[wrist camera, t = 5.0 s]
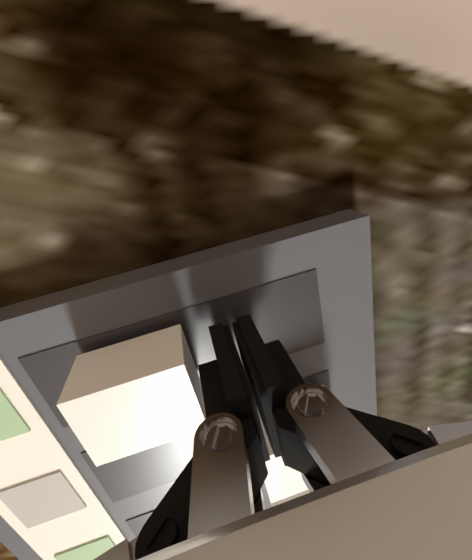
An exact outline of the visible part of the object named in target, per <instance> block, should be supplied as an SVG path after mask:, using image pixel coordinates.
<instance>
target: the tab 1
mask: <svg viewBox="0 0 472 560" xmlns="http://www.w3.org/2000/svg"><path fill="white" fill-rule="evenodd" d="M56 406H57V407H58V409H59V410H60V412H61V413H62V415H63V416H64V418H65V419H66V421H67V423H68V424H69V426H70V427H71V429H72V430H73V432H74V433H75V435H76V436H77V438H78V439H79V441H80V443H81V444H82V446H83V447H84V449H85V450H86V452H87V453H88V455H89V456H90V458H91V459H92V461H93V463H94V464H95V466H96V467H98V466H100V465H103V464H106V463H109V462H112V461H115V460H118V459H121V458H124V457H127V456H130V455H133V454H136V453H138V452H141V451H144V450H147V449H150V448H153V447H156V446H159V445H162V444H165V443H168V442H171V441H173V440H176V439H179V438H182V437H185V436H188V435H191V434H194V433H195V432H196V430H197V428H198V426H199V425H200V424H201V423H202V422H203V421H204V420H205V419H206V413H205V406H204V400H203V394H202V388H201V381H200V378H199V375H198V372H197V369H196V366H195V364H194V361H193V358H192V355H191V352H190V350H189V347H188V344H187V341H186V338H185V336H184V333H183V330H182V327H181V324H179V325H175V326H172V327H169V328H166V329H162V330H159V331H156V332H152V333H149V334H146V335H143V336H139V337H136V338H133V339H130V340H126V341H123V342H120V343H116V344H113V345H110V346H107V347H103V348H100V349H97V350H94V351H90V352H87V353H84V354H80V355H77V356H76V359H75V361H74V364H73V366H72V368H71V371H70V373H69V376H68V378H67V380H66V383H65V385H64V388H63V390H62V392H61V395H60V397H59V400H58V402H57V404H56Z"/></svg>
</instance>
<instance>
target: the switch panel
mask: <svg viewBox="0 0 472 560" xmlns="http://www.w3.org/2000/svg"><path fill="white" fill-rule="evenodd" d="M247 314H250V316H251V318H252V320H253V322H254V324H255V326H256V328H257V330H258V332H259V334H260V336H261V338H262V340H263V341H264V343H265V344H266V343H269V342H272V341H275V340H279V341H280V342H281V344H282V345H283V347H284V349H285V350H286V352H287V353H288V355H289V357H290V358H291V360H292V362H293V363H294V365H295V367H296V368H297V370H298V372H299V373H300V375H301V377H302V378H303V380H304V382H305V383H306V384H308V383H313V384H319V385H324V387H326V388H327V389H328V390H329V391H331V392H332V393H333V395H334V396H335V397H336V398H337V399H338V400H339V401H340V402H341V403H342V404H343V405H344V406H345V407H348V408H351V409H355V410H358V411H362V412H365V413H368V414H372V415H375V416H377V404H376V377H375V350H374V323H373V295H372V268H371V241H370V215H367V214H364V213H361V212H358V211H355V210H352V209H346V210H343V211H339V212H336V213H332V214H329V215H325V216H322V217H318V218H315V219H311V220H308V221H304V222H301V223H297V224H294V225H290V226H286V227H283V228H279V229H276V230H272V231H269V232H265V233H262V234H258V235H255V236H251V237H248V238H244V239H241V240H237V241H234V242H230V243H227V244H223V245H220V246H216V247H212V248H209V249H205V250H202V251H198V252H195V253H191V254H188V255H184V256H181V257H177V258H174V259H170V260H167V261H163V262H160V263H156V264H153V265H149V266H145V267H142V268H138V269H135V270H131V271H128V272H124V273H121V274H117V275H114V276H110V277H107V278H103V279H100V280H96V281H93V282H89V283H86V284H82V285H79V286H75V287H71V288H68V289H64V290H61V291H57V292H54V293H50V294H47V295H43V296H40V297H36V298H33V299H29V300H26V301H22V302H19V303H15V304H12V305H8V306H4V307H1V308H0V542H1V543H2V544H3V545H4V546H5V547H6V548H8V549H9V550H10V551H11V552H12V553H13V554H14V555H15V556H16V557H17V558H18V559H19V560H94V559H95V558H97V557H98V556H100V555H101V554H103V553H105V552H106V551H108V550H109V549H111V548H112V547H114V546H116V545H117V544H119V543H120V542H122V541H123V540H125V539H126V538H127V539H128V540H129V542H130V541H131V540H133V539H134V538H136V537H137V536H138V535H139V533H140V531H141V529H142V527H143V526H144V524H145V523H146V521H147V520H148V518H149V517H150V516H151V514H152V513H153V511H154V510H155V509H156V507H157V506H158V504H159V503H160V502H161V500H162V499H163V497H164V496H165V495H166V493H167V492H168V490H169V489H170V488H171V486H172V485H173V483H174V482H175V481H176V479H177V478H178V476H179V475H180V474H181V472H182V471H183V469H184V468H185V467H186V465H187V464H188V462H189V461H190V460H191V458H192V457H193V444H194V436H195V433H194V434H191V435H188V436H185V437H182V438H179V439H176V440H173V441H171V442H168V443H165V444H162V445H159V446H156V447H153V448H150V449H147V450H144V451H141V452H138V453H136V454H133V455H130V456H127V457H124V458H121V459H118V460H115V461H112V462H109V463H106V464H103V465H100V466H98V467H96V466H95V464H94V463H93V461H92V459H91V458H90V456H89V455H88V453H87V452H86V450H85V449H84V447H83V446H82V444H81V443H80V441H79V439H78V438H77V436H76V435H75V433H74V432H73V430H72V429H71V427H70V426H69V424H68V423H67V421H66V419H65V418H64V416H63V415H62V413H61V412H60V410H59V409H58V407H57V406H56V404H57V402H58V400H59V397H60V395H61V392H62V390H63V388H64V385H65V383H66V380H67V378H68V376H69V373H70V371H71V368H72V366H73V364H74V361H75V359H76V356H77V355H80V354H84V353H87V352H90V351H94V350H97V349H100V348H103V347H107V346H110V345H113V344H116V343H120V342H123V341H126V340H130V339H133V338H136V337H139V336H143V335H146V334H149V333H152V332H156V331H159V330H162V329H166V328H169V327H172V326H175V325H179V324H181V327H182V330H183V333H184V336H185V338H186V341H187V344H188V347H189V350H190V352H191V355H192V358H193V361H194V364H195V366H196V369H197V372H198V375H199V369H198V365H200V364H204V363H207V362H210V361H213V360H216V356H215V352H214V348H213V344H212V340H211V336H210V332H209V328H208V327H209V326H212V325H215V324H218V323H222V326H224V325H227V324H228V326H229V329H230V332H231V335H232V337H233V340H234V343H235V346H236V348H237V351H238V354H239V357H240V359H241V356H240V352H239V348H238V345H237V341H236V337H235V333H234V330H233V326H232V323H234V322H237V321H236V318H238V317H241V316H244V315H247ZM241 362H242V359H241ZM242 365H243V363H242ZM199 378H200V375H199ZM256 407H257V406H256ZM261 490H262V493H263V499H264V506H265V509H268V508H271V507H272V506H271V503H270V499H269V496H268V493H267V489H266V486H265V482H264V484H263V486H262V488H261Z"/></svg>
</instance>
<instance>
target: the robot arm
mask: <svg viewBox="0 0 472 560" xmlns="http://www.w3.org/2000/svg"><path fill="white" fill-rule="evenodd" d="M236 321H237V322H234V323H232V326H233V330H234V333H235V337H236V341H237V345H238V348H239V352H240V356H241V359H242V362H241V359H240V357H239V354H238V351H237V348H236V346H235V343H234V340H233V337H232V335H231V332H230V329H229V326H228V324H227V325H224V326H222V323H218V324H215V325H212V326H209V327H208V328H209V332H210V336H211V340H212V344H213V348H214V352H215V356H216V360H213V361H210V362H207V363H204V364H200V365H198V369H199V375H200V381H201V388H202V394H203V400H204V406H205V413H206V419H205V420H204V421H203V422H202V423H201V424H200V425H199V426H198V428H197V430H196V432H195V436H194V444H193V457H192V458H191V460H190V461H189V462H188V464H187V465H186V467H185V468H184V469H183V471H182V472H181V474H180V475H179V476H178V478H177V479H176V481H175V482H174V483H173V485H172V486H171V488H170V489H169V490H168V492H167V493H166V495H165V496H164V497H163V499H162V500H161V502H160V503H159V504H158V506H157V507H156V509H155V510H154V511H153V513H152V514H151V516H150V517H149V518H148V520H147V521H146V523H145V524H144V526H143V527H142V529H141V531H140V533H139V535H138V536H137V537H136V538H134V539H133V540H131V541H130V542H129V540H128V539H127V538H126V539H125V540H123V541H122V542H120V543H119V544H117V545H116V546H114V547H112V548H111V549H109V550H108V551H106V552H105V553H103V554H101V555H100V556H98V557H97V558H95V559H94V560H472V421H468V422H460V423H452V424H443V425H435V426H428V430H427V431H421V430H419V429H417V428H414V427H412V426H409V425H406V424H402V423H399V422H396V421H392V420H389V419H385V418H382V417H379V416H375V415H372V414H368V413H365V412H362V411H358V410H355V409H351V408H348V407H345V406H344V405H343V404H342V403H341V402H340V401H339V400H338V399H337V398H336V397H335V396H334V395H333V393H332V392H331V391H329V390H328V389H327V388H326V387H324V386H321V385H319V384H313V383H308V384H306V383H305V382H304V380H303V378H302V377H301V375H300V373H299V372H298V370H297V368H296V367H295V365H294V363H293V362H292V360H291V358H290V357H289V355H288V353H287V352H286V350H285V349H284V347H283V345H282V344H281V342H280V341H279V340H275V341H272V342H269V343H266V344H265V343H264V341H263V340H262V338H261V336H260V334H259V332H258V330H257V328H256V326H255V324H254V322H253V320H252V318H251V316H250V314H247V315H244V316H241V317H238V318H236ZM242 363H243V365H242ZM256 406H257V407H256ZM257 409H258V411H257ZM258 412H259V414H260V417H261V420H262V423H263V425H264V428H265V431H266V434H267V437H268V439H269V442H270V445H271V448H272V450H273V453H274V456H275V458H277V457H280V456H281V457H282V460H283V462H284V465H285V466H288V467H290V468H292V469H294V470H297V471H299V472H300V474H301V477H302V479H303V481H304V483H305V484H306V486H307V488H308V489H309V491H310V493H308V494H305V495H302V496H300V497H297V498H294V499H292V500H289V501H286V502H284V503H281V504H279V505H276V506H273V507H271V508H268V509H265V506H264V499H263V493H262V490H261V488H262V486H263V484H264V482H265V480H266V478H267V475H268V470H267V467H266V463H265V462H266V461H269V460H270V456H269V452H268V448H267V444H266V441H265V437H264V433H263V429H262V426H261V422H260V418H259V414H258Z"/></svg>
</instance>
